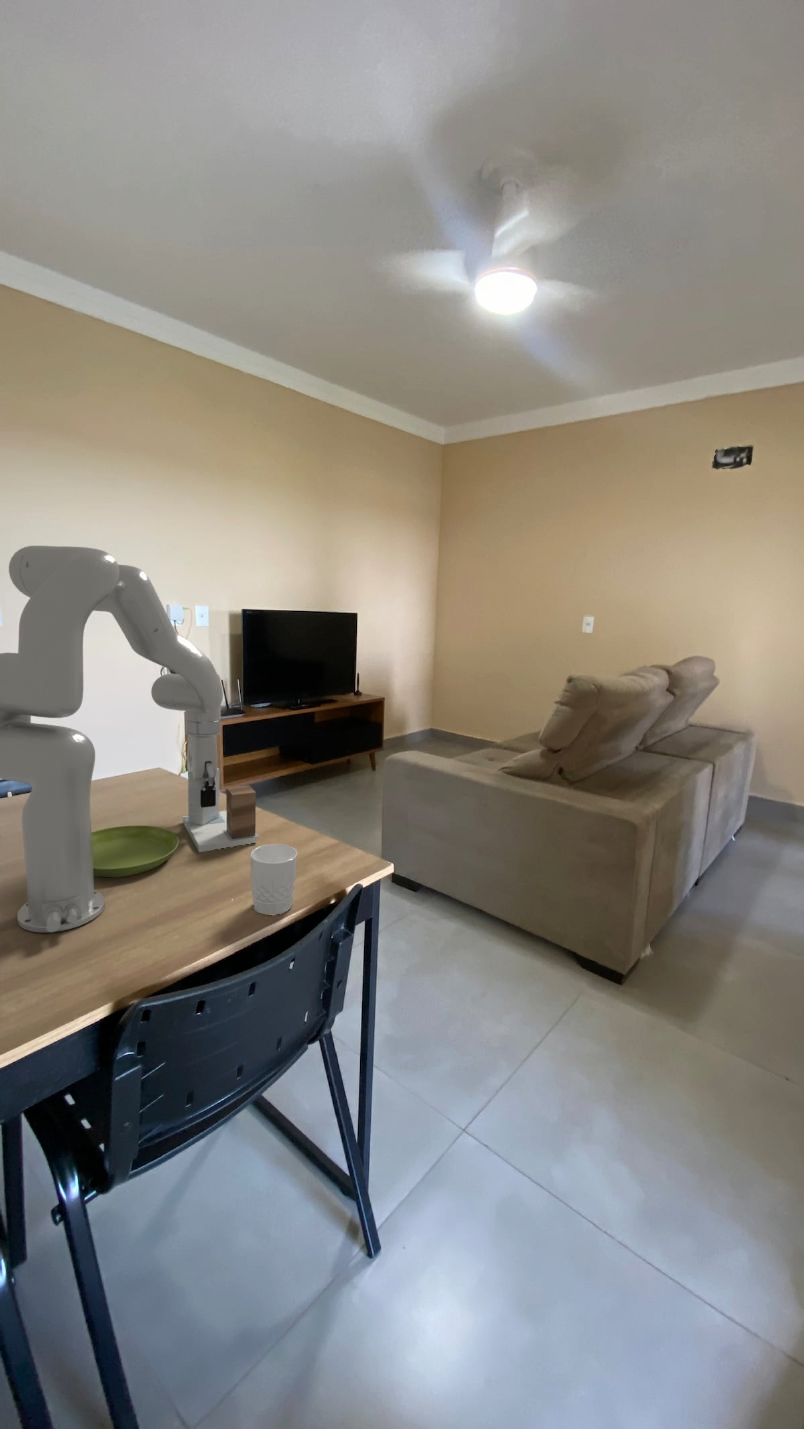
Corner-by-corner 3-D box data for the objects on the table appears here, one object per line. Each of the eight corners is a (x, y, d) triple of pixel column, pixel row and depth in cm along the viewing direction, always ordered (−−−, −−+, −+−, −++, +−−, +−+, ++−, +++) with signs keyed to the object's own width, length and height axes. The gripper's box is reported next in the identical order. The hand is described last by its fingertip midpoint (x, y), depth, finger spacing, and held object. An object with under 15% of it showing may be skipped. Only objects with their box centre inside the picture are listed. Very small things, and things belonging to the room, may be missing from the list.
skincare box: (205, 814, 140) (204, 764, 138) (220, 817, 138) (220, 767, 136) (187, 822, 134) (186, 771, 132) (203, 826, 133) (202, 774, 130)
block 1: (255, 814, 128) (255, 792, 127) (232, 817, 126) (232, 794, 125) (248, 806, 133) (249, 785, 132) (226, 809, 130) (226, 787, 129)
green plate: (60, 891, 105) (59, 874, 104) (68, 845, 123) (67, 831, 123) (184, 874, 114) (183, 859, 113) (174, 834, 132) (174, 820, 132)
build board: (259, 843, 129) (259, 836, 129) (199, 852, 123) (199, 845, 123) (237, 815, 145) (237, 808, 144) (182, 822, 138) (182, 815, 138)
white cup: (247, 898, 106) (248, 846, 104) (291, 892, 109) (292, 842, 107) (252, 920, 99) (253, 865, 97) (299, 914, 102) (301, 860, 100)
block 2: (255, 835, 129) (255, 814, 128) (232, 839, 127) (232, 817, 126) (248, 827, 134) (249, 806, 133) (226, 830, 131) (226, 809, 130)
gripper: (178, 720, 138) (179, 790, 141) (193, 736, 123) (194, 814, 126) (211, 718, 142) (211, 786, 145) (229, 734, 127) (229, 810, 130)
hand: (203, 799), depth 136 cm, fingers open, 9 cm apart
